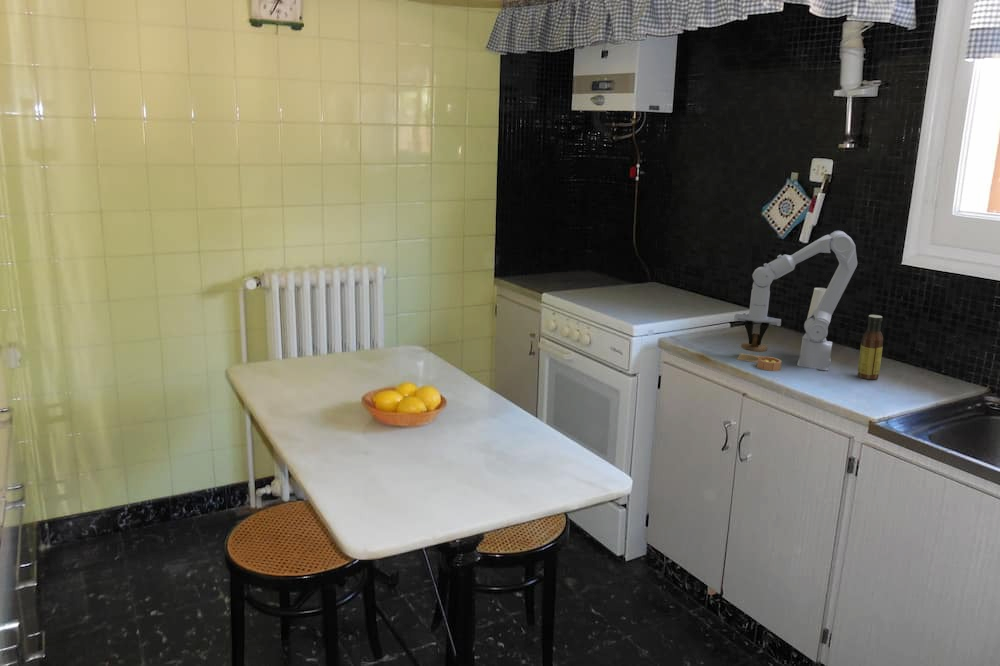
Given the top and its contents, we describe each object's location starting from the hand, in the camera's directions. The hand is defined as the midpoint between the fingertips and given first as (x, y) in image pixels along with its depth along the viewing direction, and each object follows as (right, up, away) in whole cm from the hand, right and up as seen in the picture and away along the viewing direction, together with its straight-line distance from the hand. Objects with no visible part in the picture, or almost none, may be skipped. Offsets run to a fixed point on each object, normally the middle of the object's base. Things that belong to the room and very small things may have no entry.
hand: (754, 344), depth 264 cm
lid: (0, -1, 0) cm, 1 cm away
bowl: (+2, -8, -8) cm, 11 cm away
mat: (0, -5, +1) cm, 5 cm away
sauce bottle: (+31, -10, -13) cm, 35 cm away
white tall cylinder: (+21, -5, +5) cm, 22 cm away
